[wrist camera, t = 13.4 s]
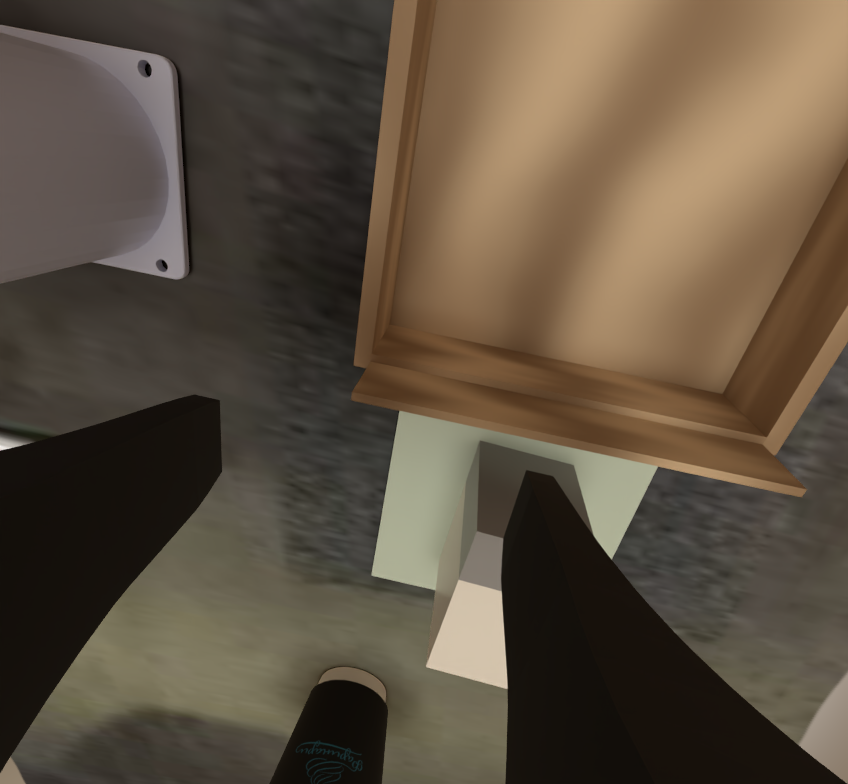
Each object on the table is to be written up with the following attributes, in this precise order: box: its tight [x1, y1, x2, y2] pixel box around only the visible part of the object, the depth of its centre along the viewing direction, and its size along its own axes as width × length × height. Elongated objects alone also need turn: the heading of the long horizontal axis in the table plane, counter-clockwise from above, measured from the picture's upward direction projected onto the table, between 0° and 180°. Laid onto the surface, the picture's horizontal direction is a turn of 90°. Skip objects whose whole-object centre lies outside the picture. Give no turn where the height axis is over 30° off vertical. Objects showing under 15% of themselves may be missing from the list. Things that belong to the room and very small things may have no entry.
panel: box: [372, 411, 658, 590], centre depth 24 cm, size 12×12×1 cm
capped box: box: [426, 440, 593, 689], centre depth 21 cm, size 4×8×6 cm, turn 167°
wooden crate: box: [351, 0, 848, 497], centre depth 12 cm, size 15×21×6 cm
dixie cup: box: [270, 667, 388, 784], centre depth 27 cm, size 8×8×11 cm
